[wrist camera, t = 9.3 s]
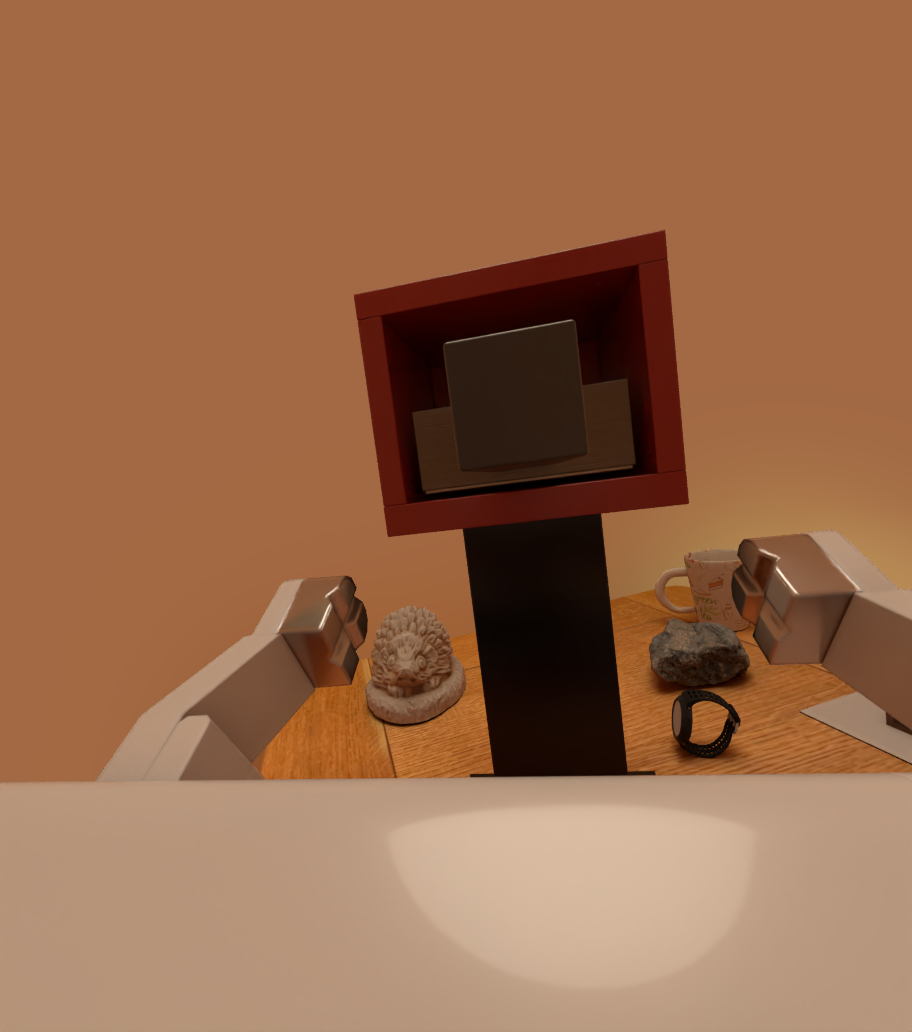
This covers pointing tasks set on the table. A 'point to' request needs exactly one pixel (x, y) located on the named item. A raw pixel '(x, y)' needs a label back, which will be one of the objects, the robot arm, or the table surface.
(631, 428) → the brown piece
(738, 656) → the rock
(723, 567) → the mug
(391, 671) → the sculpture
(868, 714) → the stack of crates
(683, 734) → the smartwatch
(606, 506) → the stand
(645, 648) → the table surface
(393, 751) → the table surface
